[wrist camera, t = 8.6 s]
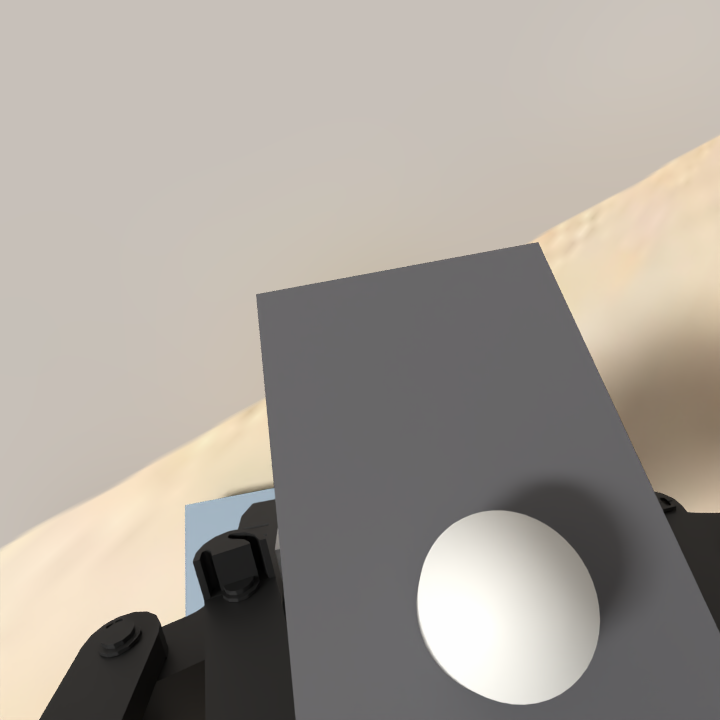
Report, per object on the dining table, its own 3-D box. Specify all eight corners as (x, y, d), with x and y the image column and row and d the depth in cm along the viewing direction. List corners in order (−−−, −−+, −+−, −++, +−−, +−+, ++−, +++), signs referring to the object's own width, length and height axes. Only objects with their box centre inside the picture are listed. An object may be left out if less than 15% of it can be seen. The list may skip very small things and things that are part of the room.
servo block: (460, 485, 19) (554, 191, 7) (515, 687, 16) (852, 767, 4) (342, 508, 19) (238, 250, 7) (375, 715, 16) (286, 889, 4)
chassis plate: (477, 461, 34) (482, 447, 31) (569, 771, 26) (584, 782, 23) (199, 515, 33) (185, 505, 31) (205, 846, 25) (186, 863, 23)
